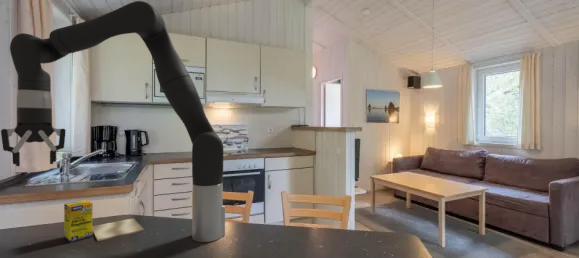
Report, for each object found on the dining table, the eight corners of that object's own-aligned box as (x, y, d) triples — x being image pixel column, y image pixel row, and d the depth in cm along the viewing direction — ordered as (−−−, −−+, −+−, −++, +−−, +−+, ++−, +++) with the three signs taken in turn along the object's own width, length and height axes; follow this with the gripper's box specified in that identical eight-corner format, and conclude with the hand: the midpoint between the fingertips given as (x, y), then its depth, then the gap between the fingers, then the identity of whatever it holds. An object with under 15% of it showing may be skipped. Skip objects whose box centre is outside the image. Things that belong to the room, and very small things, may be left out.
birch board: (133, 219, 106) (133, 218, 106) (144, 230, 95) (144, 229, 95) (90, 228, 97) (90, 226, 97) (97, 241, 86) (97, 239, 86)
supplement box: (70, 243, 85) (69, 206, 85) (63, 238, 88) (63, 203, 88) (93, 237, 90) (93, 202, 89) (86, 232, 93) (86, 199, 93)
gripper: (-3, 105, 74) (-2, 169, 74) (67, 107, 83) (67, 164, 84) (0, 106, 80) (1, 165, 80) (65, 108, 89) (66, 161, 89)
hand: (35, 164), depth 82 cm, fingers open, 6 cm apart
